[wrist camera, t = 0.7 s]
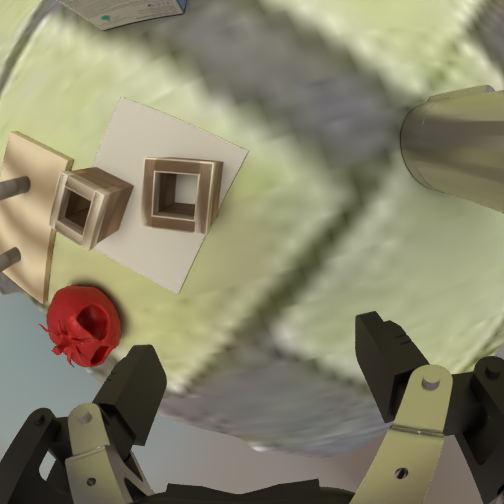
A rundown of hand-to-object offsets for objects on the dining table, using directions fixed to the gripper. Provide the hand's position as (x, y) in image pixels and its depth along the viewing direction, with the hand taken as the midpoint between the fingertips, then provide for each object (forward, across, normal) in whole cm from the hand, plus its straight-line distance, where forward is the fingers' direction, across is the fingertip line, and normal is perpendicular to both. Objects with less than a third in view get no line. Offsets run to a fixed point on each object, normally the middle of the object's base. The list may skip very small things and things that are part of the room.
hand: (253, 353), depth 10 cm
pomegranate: (+18, +22, +6) cm, 29 cm away
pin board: (+18, +28, -8) cm, 34 cm away
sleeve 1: (+17, +14, -7) cm, 23 cm away
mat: (+17, +10, -6) cm, 21 cm away
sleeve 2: (+17, +5, -6) cm, 18 cm away
